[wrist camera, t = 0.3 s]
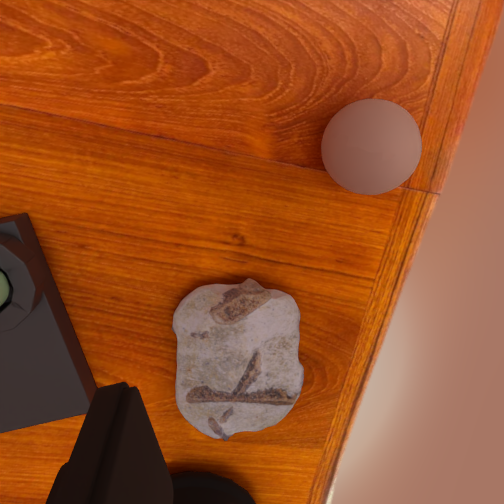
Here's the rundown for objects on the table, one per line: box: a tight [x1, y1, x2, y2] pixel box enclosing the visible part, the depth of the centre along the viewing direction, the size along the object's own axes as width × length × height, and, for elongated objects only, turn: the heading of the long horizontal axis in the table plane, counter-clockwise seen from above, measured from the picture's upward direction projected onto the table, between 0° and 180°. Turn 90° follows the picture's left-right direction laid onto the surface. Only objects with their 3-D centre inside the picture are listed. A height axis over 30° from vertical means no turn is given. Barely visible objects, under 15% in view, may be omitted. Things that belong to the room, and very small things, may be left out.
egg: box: [321, 99, 422, 195], centre depth 23 cm, size 5×5×7 cm
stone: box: [172, 278, 304, 441], centre depth 29 cm, size 12×9×3 cm
